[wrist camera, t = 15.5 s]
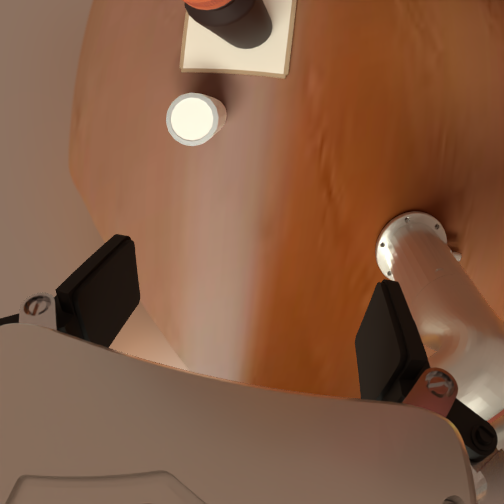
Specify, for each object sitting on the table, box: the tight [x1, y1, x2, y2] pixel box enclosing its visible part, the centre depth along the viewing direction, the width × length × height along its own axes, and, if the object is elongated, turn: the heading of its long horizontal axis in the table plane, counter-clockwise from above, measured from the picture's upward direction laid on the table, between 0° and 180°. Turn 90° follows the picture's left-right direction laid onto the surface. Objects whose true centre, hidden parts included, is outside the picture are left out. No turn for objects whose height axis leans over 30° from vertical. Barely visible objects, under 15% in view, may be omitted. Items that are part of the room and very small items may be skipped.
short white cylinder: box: [166, 93, 227, 146], centre depth 38 cm, size 7×7×7 cm
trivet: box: [180, 0, 297, 79], centre depth 33 cm, size 15×15×1 cm
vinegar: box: [183, 0, 272, 49], centre depth 24 cm, size 7×7×20 cm
